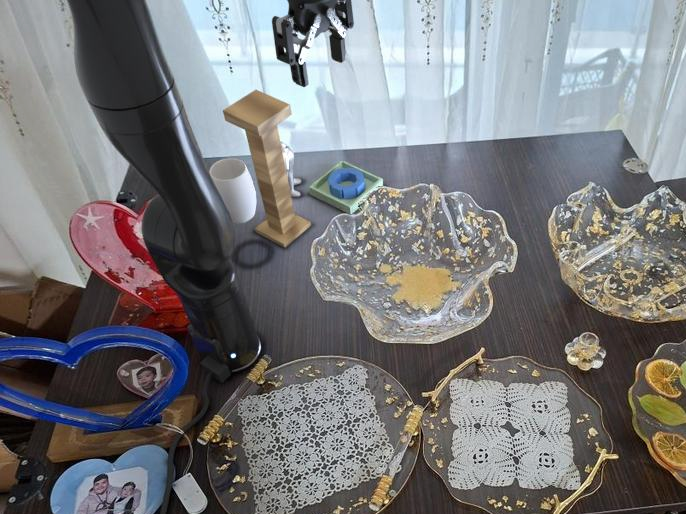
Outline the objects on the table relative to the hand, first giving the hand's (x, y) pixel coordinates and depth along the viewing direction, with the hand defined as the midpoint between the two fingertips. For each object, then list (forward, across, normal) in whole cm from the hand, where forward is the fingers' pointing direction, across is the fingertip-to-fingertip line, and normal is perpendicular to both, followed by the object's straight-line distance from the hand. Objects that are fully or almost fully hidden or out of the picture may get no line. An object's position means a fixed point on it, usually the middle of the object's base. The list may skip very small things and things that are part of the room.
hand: (320, 72), depth 92 cm
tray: (+38, +15, +11) cm, 42 cm away
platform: (+38, -2, +14) cm, 41 cm away
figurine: (+38, +8, +21) cm, 45 cm away
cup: (+38, -11, +14) cm, 42 cm away
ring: (+38, +15, +11) cm, 42 cm away
